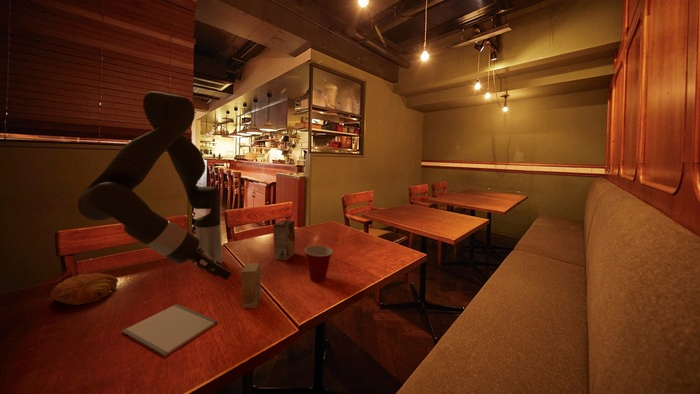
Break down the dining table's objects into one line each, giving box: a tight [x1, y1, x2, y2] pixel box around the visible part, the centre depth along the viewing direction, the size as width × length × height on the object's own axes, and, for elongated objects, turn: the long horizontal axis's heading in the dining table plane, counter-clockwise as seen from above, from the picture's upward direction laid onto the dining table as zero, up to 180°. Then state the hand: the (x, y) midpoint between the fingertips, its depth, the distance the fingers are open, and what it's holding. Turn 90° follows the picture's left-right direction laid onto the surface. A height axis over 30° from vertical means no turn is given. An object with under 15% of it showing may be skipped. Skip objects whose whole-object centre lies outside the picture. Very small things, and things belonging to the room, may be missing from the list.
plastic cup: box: [304, 245, 334, 283], centre depth 100 cm, size 11×11×12 cm
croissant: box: [51, 273, 120, 306], centre depth 85 cm, size 14×16×8 cm
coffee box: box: [273, 220, 296, 261], centre depth 121 cm, size 9×6×16 cm
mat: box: [121, 303, 218, 357], centre depth 71 cm, size 18×14×1 cm
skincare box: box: [240, 262, 262, 309], centre depth 83 cm, size 6×4×12 cm
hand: (223, 271), depth 76 cm, fingers open, 8 cm apart
